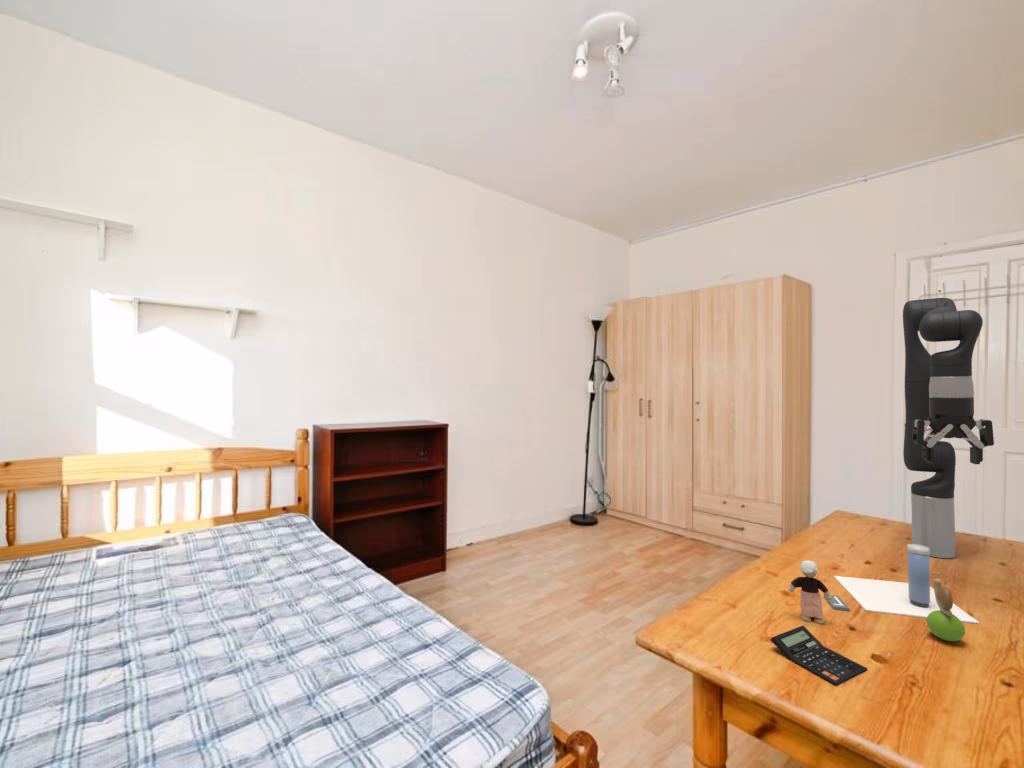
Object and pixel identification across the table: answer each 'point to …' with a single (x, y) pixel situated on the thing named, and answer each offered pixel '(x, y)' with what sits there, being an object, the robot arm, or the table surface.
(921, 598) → the grey-blue cylinder
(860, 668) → the calculator
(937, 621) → the snail figurine
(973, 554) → the table surface
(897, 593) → the paper
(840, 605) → the letter card
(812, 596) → the grandmother figurine
